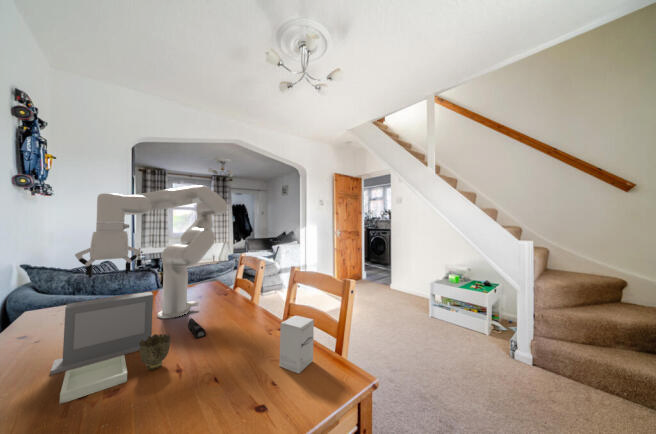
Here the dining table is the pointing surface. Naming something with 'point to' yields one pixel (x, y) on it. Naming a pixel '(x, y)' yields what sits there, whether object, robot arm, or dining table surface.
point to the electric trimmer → (196, 329)
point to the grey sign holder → (104, 329)
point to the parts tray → (93, 378)
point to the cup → (154, 350)
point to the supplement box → (296, 343)
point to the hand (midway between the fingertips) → (109, 275)
